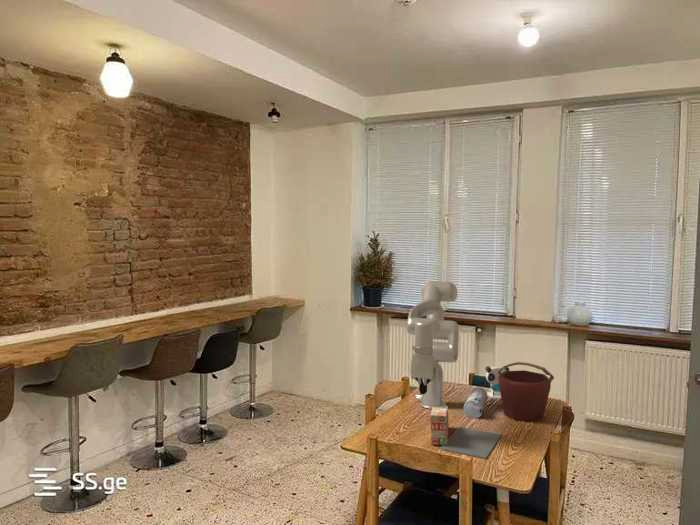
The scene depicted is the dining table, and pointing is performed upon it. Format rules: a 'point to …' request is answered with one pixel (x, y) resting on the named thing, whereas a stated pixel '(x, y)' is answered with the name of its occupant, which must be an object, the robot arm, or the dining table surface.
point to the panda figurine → (494, 380)
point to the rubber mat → (472, 442)
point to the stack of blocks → (439, 425)
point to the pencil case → (475, 403)
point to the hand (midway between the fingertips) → (423, 393)
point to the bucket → (524, 393)
